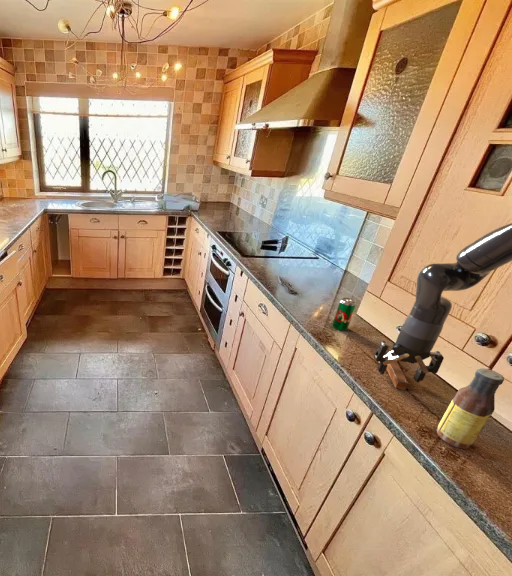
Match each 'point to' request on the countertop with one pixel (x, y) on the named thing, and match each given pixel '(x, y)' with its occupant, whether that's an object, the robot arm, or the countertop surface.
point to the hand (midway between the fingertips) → (398, 376)
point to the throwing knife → (286, 285)
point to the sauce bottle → (470, 409)
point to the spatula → (397, 376)
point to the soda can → (344, 314)
